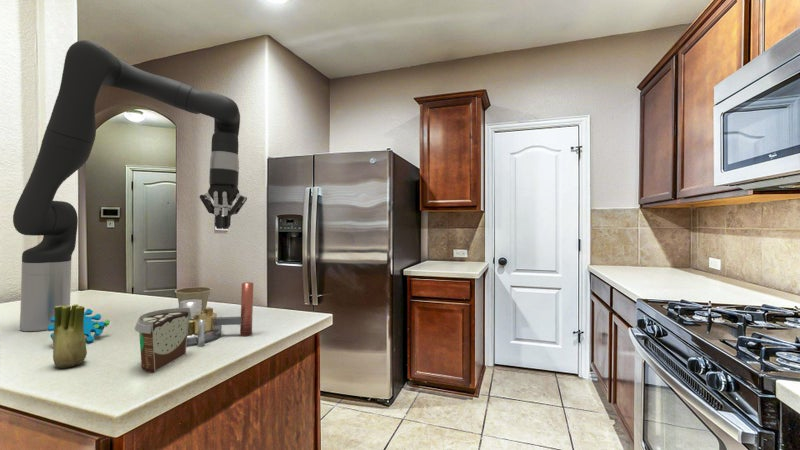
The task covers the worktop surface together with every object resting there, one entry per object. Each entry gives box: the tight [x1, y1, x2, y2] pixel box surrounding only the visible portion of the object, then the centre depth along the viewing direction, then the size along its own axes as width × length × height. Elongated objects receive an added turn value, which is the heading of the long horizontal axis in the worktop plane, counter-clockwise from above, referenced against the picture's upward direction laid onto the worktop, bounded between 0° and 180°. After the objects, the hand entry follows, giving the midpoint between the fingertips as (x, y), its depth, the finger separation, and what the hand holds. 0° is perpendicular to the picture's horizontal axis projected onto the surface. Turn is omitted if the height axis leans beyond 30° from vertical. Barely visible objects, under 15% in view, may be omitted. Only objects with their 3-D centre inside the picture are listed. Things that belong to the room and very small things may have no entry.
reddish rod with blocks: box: [188, 281, 254, 337], centre depth 89 cm, size 20×11×13 cm, turn 104°
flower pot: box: [174, 286, 212, 311], centre depth 104 cm, size 9×9×9 cm
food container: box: [134, 307, 191, 374], centre depth 72 cm, size 12×6×10 cm, turn 178°
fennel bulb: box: [52, 303, 88, 369], centre depth 70 cm, size 6×5×12 cm
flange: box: [180, 299, 223, 348], centre depth 87 cm, size 16×14×9 cm
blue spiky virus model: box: [46, 308, 111, 344], centre depth 83 cm, size 11×6×10 cm
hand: (222, 228), depth 102 cm, fingers closed
